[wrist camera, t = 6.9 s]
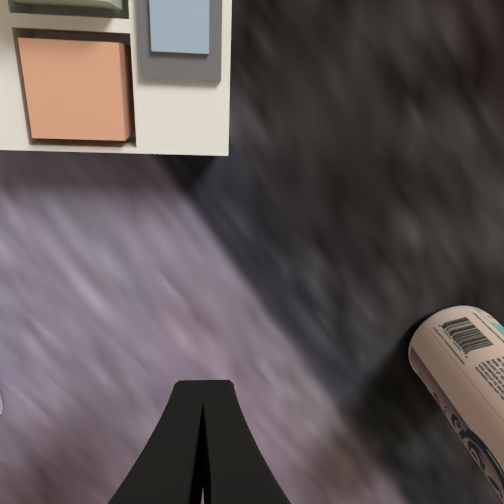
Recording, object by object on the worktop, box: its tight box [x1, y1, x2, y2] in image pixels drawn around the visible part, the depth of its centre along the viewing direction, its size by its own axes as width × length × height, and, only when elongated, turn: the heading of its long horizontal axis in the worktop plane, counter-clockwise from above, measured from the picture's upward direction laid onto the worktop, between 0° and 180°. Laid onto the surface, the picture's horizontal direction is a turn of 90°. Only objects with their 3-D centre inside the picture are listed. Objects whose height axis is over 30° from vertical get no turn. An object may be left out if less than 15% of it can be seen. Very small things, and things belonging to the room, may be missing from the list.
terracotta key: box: [18, 38, 136, 141], centre depth 15 cm, size 3×3×2 cm
